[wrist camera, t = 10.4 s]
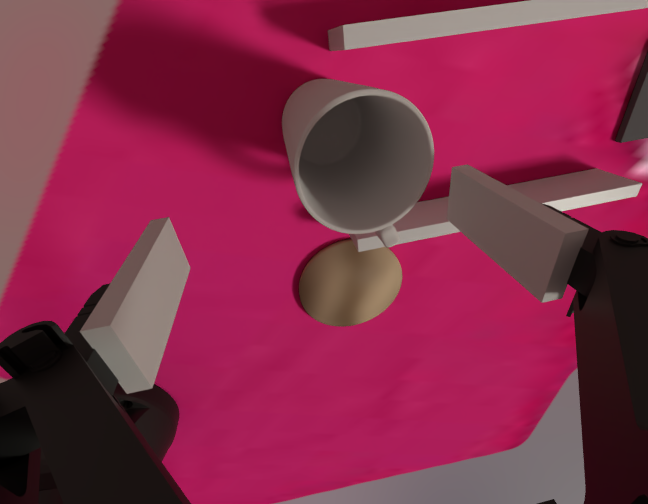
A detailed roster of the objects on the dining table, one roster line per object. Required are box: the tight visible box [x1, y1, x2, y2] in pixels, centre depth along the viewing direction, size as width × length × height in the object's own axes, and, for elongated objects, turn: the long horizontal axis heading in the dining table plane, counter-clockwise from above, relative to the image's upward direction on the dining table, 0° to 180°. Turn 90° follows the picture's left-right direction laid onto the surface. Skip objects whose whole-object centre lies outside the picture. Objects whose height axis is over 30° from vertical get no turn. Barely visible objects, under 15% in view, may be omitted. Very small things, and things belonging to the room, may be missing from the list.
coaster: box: [299, 239, 402, 326], centre depth 33 cm, size 11×11×1 cm
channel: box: [328, 0, 648, 252], centre depth 25 cm, size 26×15×4 cm, turn 97°
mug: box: [282, 79, 434, 247], centre depth 21 cm, size 10×7×12 cm, turn 25°
